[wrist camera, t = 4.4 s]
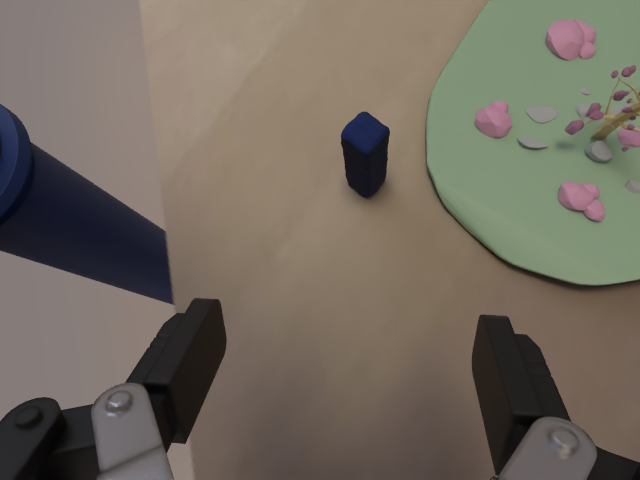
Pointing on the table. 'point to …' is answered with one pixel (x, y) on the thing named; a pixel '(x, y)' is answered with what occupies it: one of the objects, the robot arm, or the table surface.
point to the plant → (545, 136)
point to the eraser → (365, 153)
